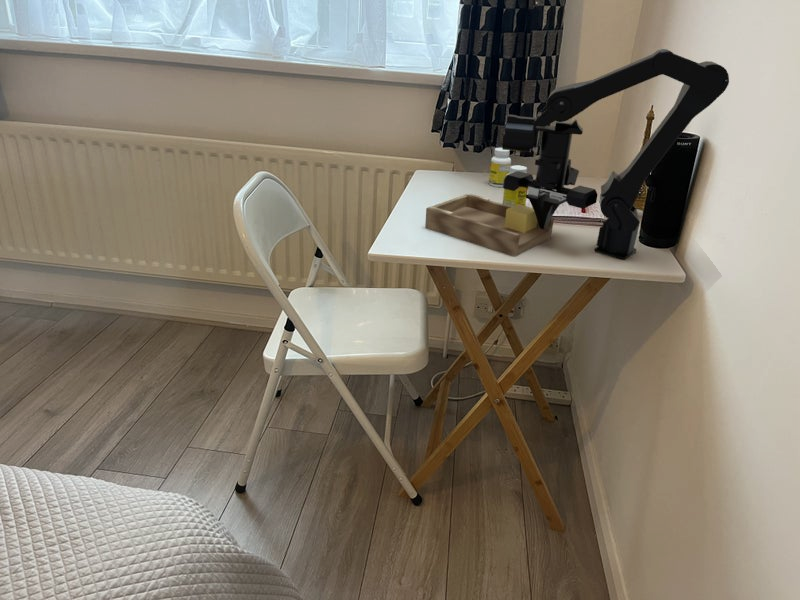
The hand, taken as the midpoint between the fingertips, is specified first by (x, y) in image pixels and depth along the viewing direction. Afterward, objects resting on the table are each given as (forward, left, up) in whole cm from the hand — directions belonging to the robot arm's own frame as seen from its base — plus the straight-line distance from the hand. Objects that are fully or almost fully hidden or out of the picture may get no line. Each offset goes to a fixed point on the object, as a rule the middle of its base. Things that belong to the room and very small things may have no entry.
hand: (542, 228), depth 127 cm
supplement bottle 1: (+30, -31, -3) cm, 43 cm away
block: (+5, 0, -1) cm, 5 cm away
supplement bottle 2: (+16, -16, -3) cm, 23 cm away
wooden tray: (+11, +3, -3) cm, 12 cm away
